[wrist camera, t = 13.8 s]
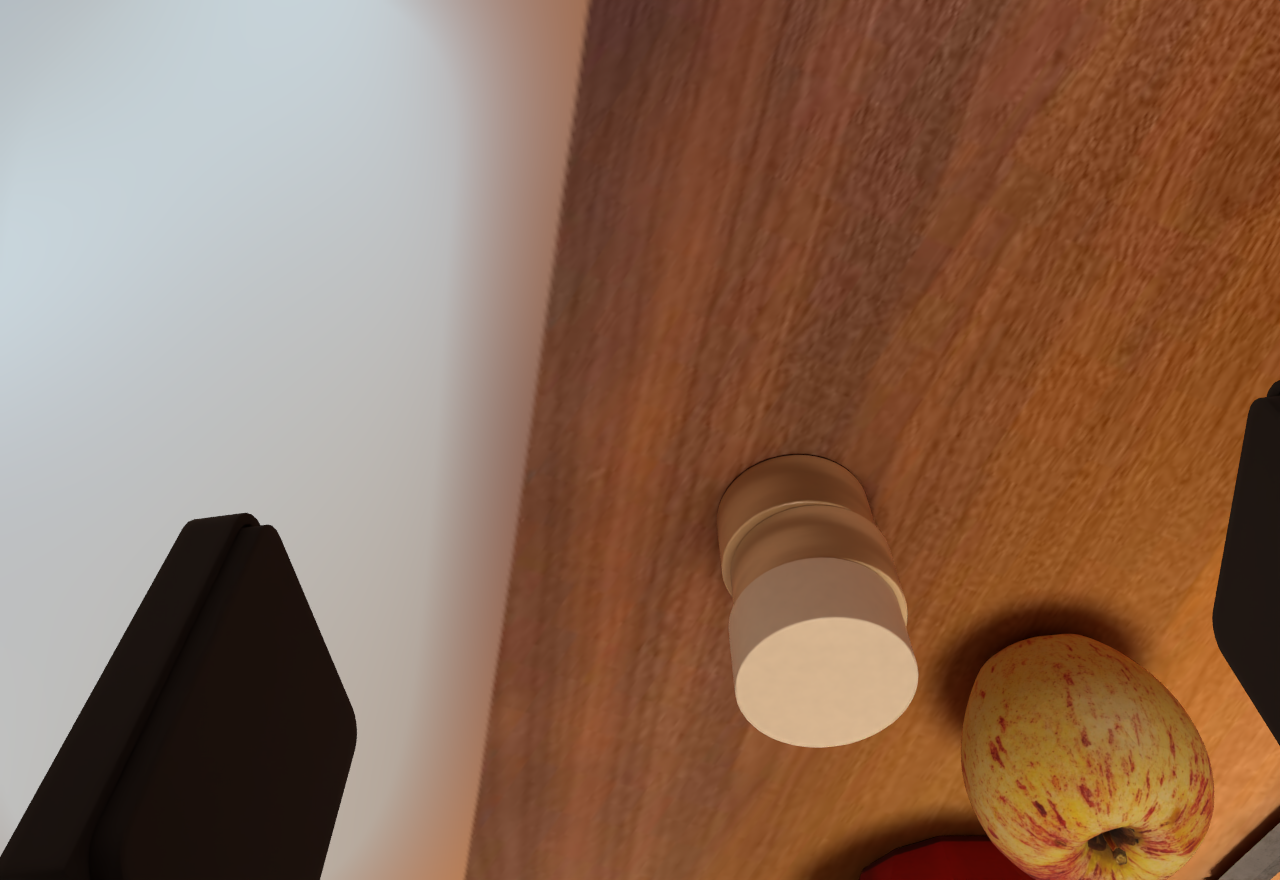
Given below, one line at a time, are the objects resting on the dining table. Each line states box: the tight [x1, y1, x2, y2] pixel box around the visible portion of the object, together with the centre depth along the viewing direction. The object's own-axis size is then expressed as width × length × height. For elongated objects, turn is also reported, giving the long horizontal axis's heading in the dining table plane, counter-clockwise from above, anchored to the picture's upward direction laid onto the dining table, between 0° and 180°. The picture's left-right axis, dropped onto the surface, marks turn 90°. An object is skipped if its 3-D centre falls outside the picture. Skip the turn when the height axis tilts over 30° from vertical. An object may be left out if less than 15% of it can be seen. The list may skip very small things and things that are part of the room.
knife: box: [1218, 823, 1280, 880], centre depth 55 cm, size 28×3×1 cm, turn 159°
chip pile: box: [717, 455, 908, 626], centre depth 41 cm, size 6×6×6 cm
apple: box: [961, 634, 1214, 880], centre depth 44 cm, size 9×9×10 cm
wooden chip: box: [729, 557, 918, 748], centre depth 37 cm, size 6×6×3 cm
